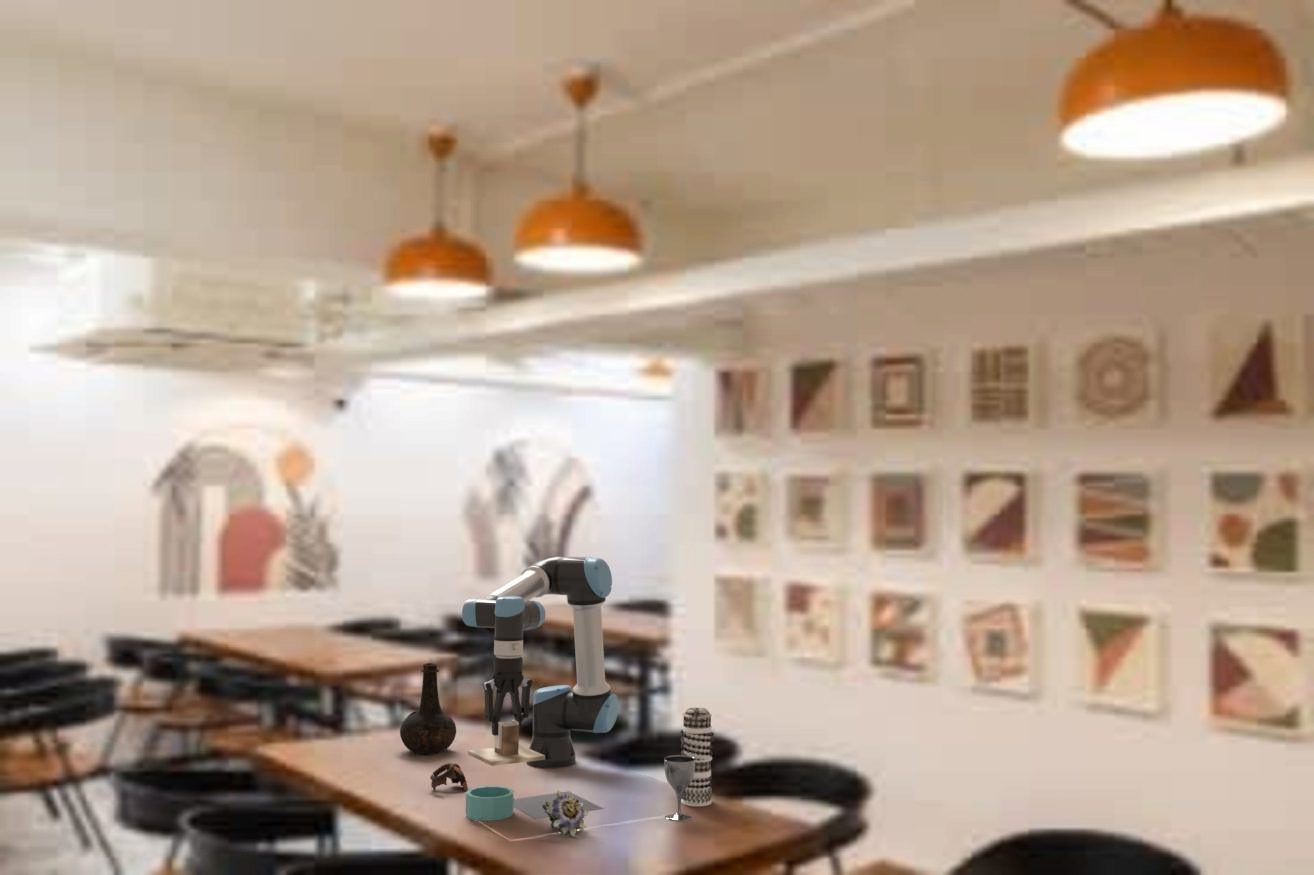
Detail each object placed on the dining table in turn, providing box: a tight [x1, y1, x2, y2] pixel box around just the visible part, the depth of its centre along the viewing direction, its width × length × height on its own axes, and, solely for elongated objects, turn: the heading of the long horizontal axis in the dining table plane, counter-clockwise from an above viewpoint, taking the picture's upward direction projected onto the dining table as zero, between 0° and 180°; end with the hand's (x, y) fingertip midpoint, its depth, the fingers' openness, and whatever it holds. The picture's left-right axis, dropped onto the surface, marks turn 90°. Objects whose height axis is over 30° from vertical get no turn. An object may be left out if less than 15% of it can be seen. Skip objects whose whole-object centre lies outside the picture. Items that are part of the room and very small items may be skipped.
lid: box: [467, 720, 545, 767], centre depth 299 cm, size 15×15×8 cm
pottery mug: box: [429, 762, 469, 792], centre depth 323 cm, size 12×10×8 cm
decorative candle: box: [679, 707, 715, 807], centre depth 313 cm, size 9×9×25 cm
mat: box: [514, 791, 604, 820], centre depth 306 cm, size 20×20×1 cm
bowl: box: [465, 785, 515, 823], centre depth 297 cm, size 12×12×6 cm
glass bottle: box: [399, 662, 457, 755], centre depth 369 cm, size 18×18×28 cm
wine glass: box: [663, 754, 695, 822], centre depth 298 cm, size 8×8×15 cm
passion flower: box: [542, 790, 590, 838], centre depth 283 cm, size 11×11×12 cm
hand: (506, 746), depth 299 cm, fingers closed on lid, 4 cm apart
